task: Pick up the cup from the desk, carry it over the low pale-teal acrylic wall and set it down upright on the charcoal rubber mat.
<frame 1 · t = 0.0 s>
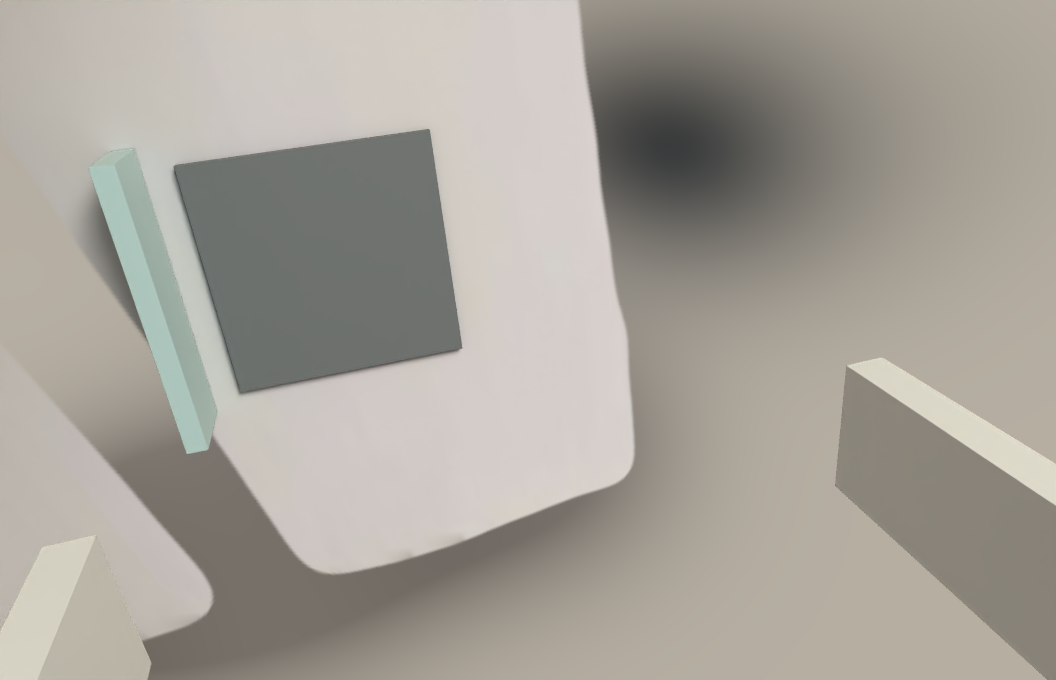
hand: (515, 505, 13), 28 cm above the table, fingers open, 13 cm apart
wall: (168, 291, 37), on the table
mat: (331, 263, 39), on the table
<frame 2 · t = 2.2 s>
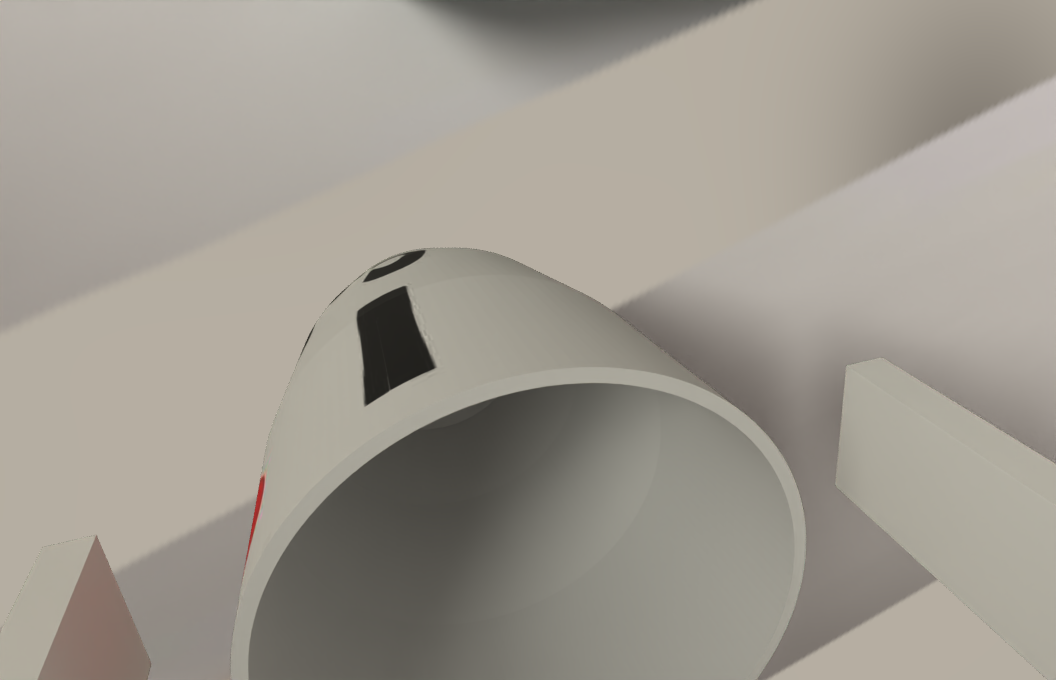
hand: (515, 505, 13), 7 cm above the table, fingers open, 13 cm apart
cup: (430, 341, 19), on the table
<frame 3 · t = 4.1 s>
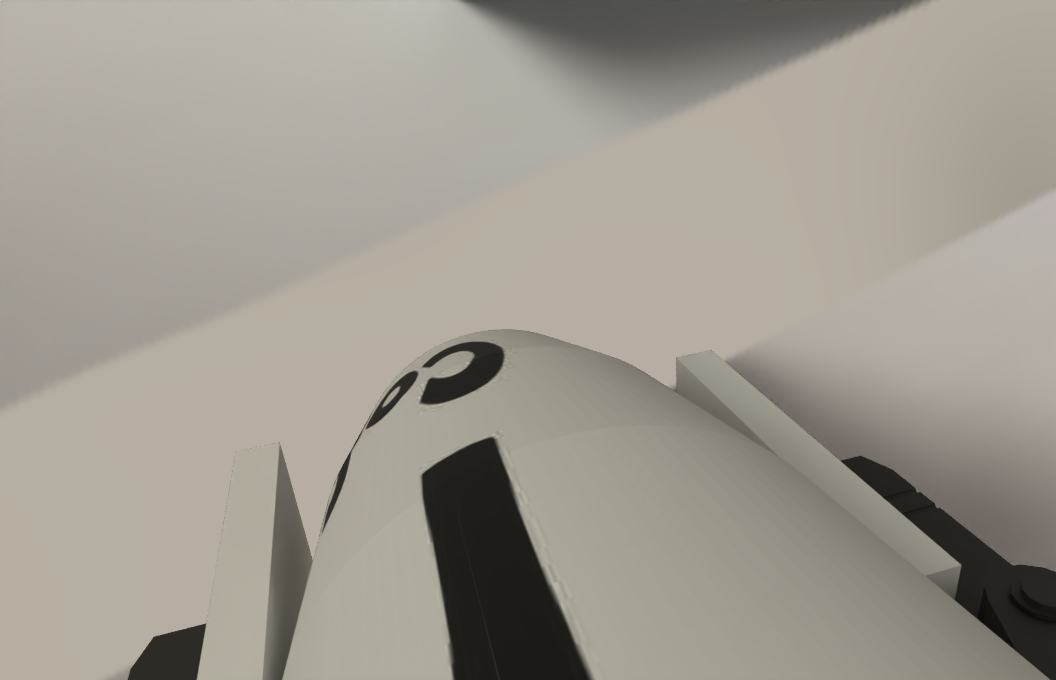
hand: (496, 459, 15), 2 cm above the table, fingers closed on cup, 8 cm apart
cup: (493, 442, 15), point 2 cm above the table, touching gripper
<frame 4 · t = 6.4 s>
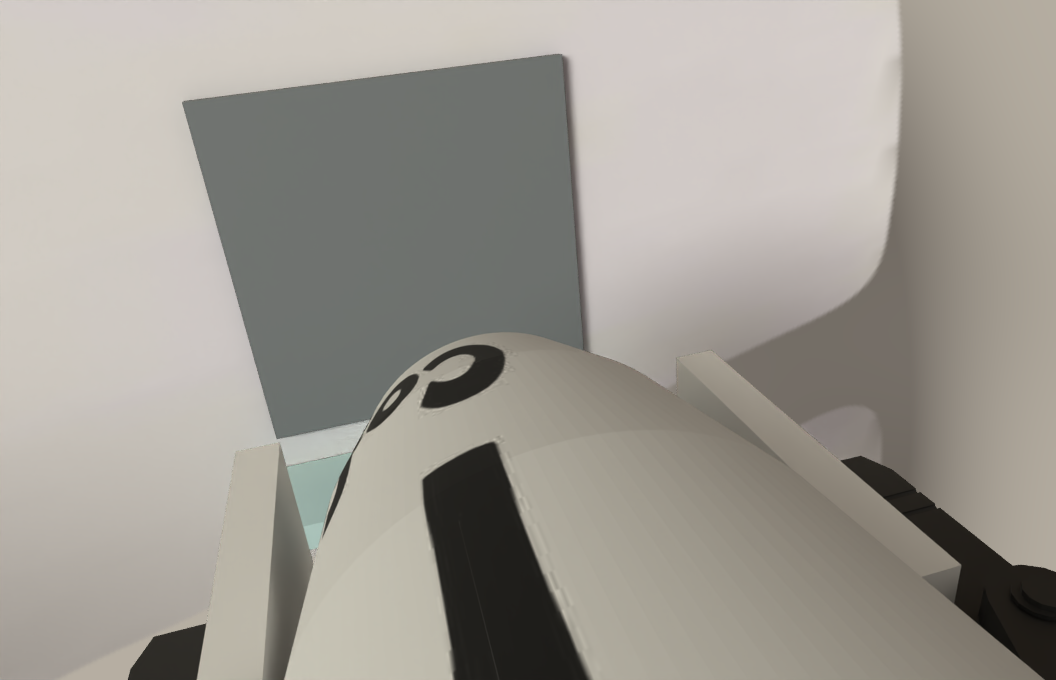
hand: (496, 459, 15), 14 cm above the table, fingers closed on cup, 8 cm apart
wall: (442, 443, 30), on the table
mat: (410, 253, 27), on the table
cup: (493, 445, 15), point 13 cm above the table, touching gripper
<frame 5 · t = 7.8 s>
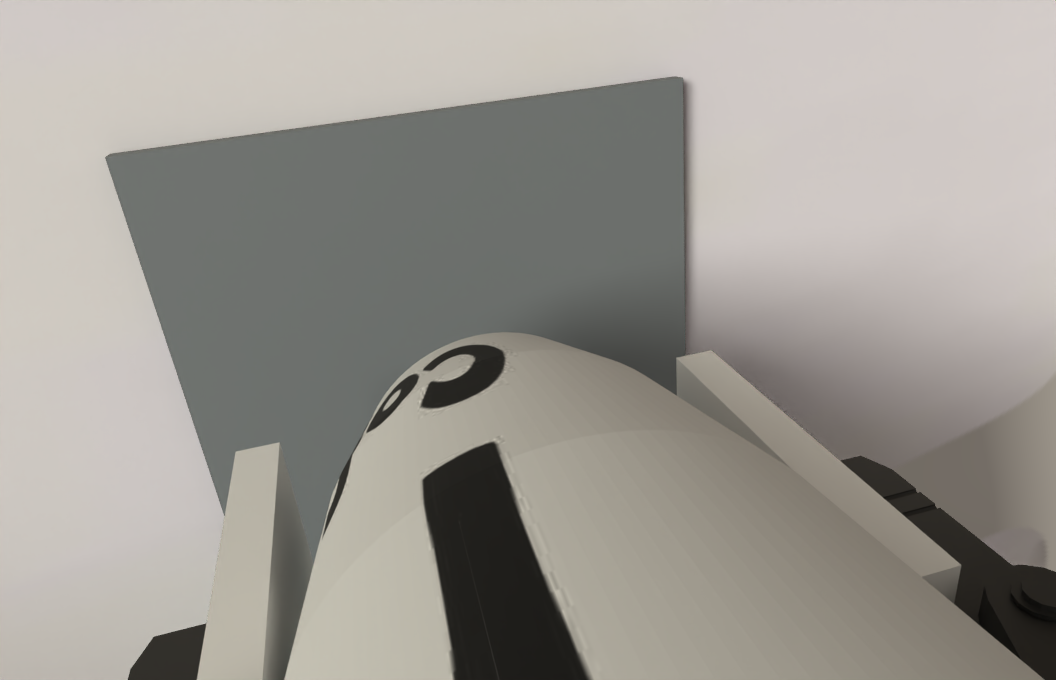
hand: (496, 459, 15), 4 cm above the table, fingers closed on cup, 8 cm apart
mat: (452, 363, 19), on the table
cup: (494, 445, 15), point 4 cm above the table, touching gripper
when the fingers open (2 cm above the table, at t = 8.9 s): cup stays where it is, resting on mat.
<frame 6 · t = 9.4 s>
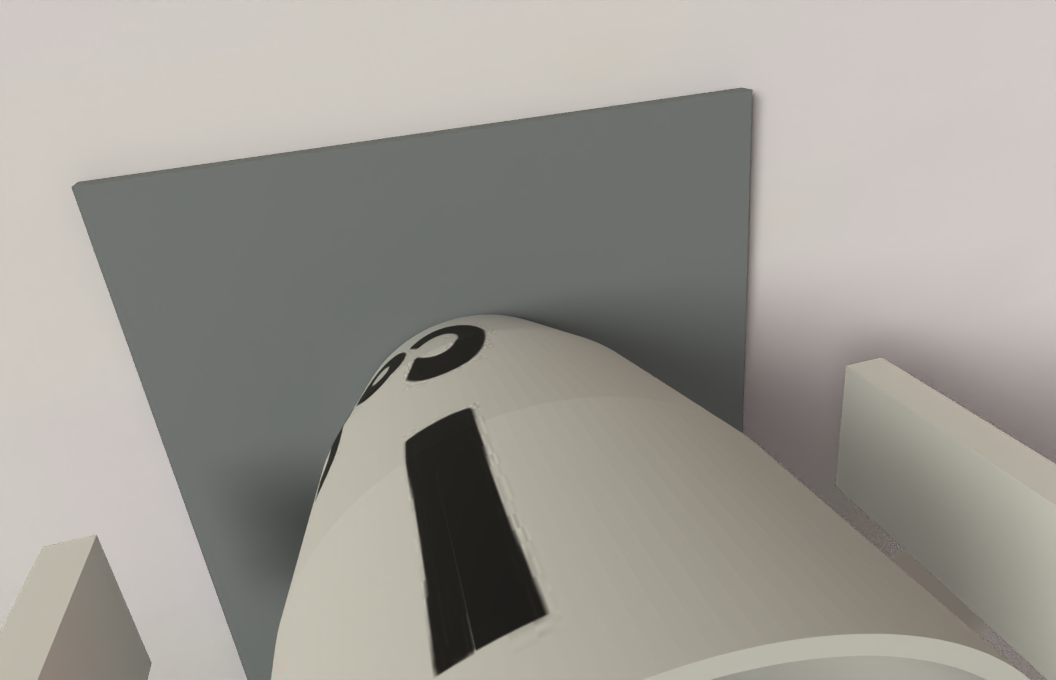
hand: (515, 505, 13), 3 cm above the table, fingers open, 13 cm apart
mat: (479, 417, 16), on the table
cup: (479, 422, 16), resting on mat
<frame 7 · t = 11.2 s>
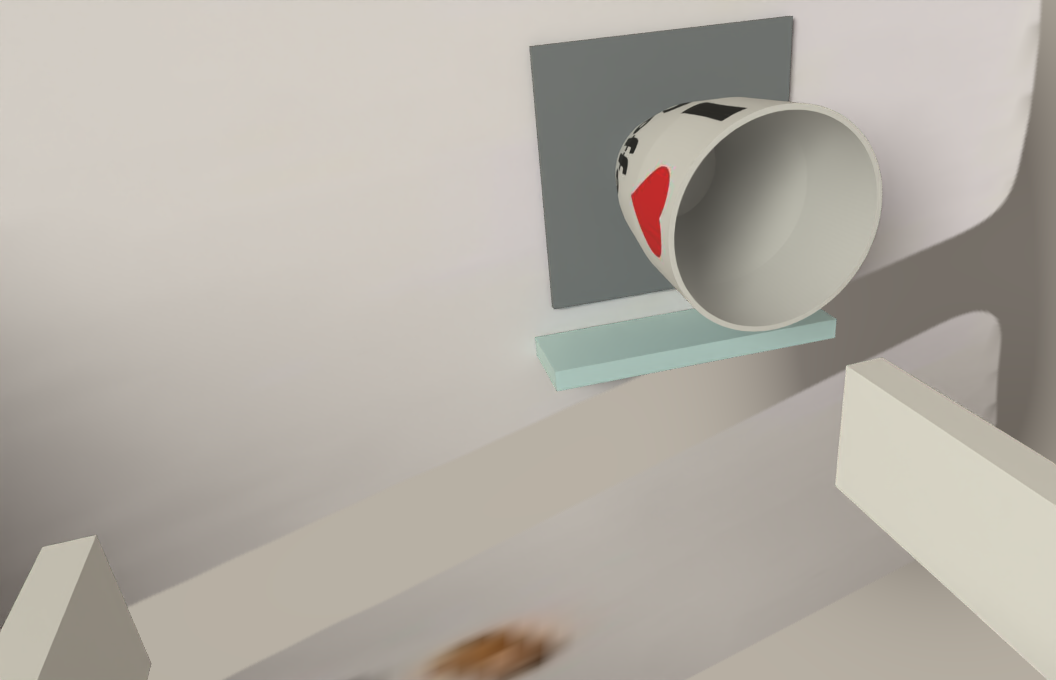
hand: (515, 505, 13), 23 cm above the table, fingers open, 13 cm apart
wall: (667, 322, 39), on the table
mat: (664, 167, 36), on the table
cup: (665, 168, 35), resting on mat
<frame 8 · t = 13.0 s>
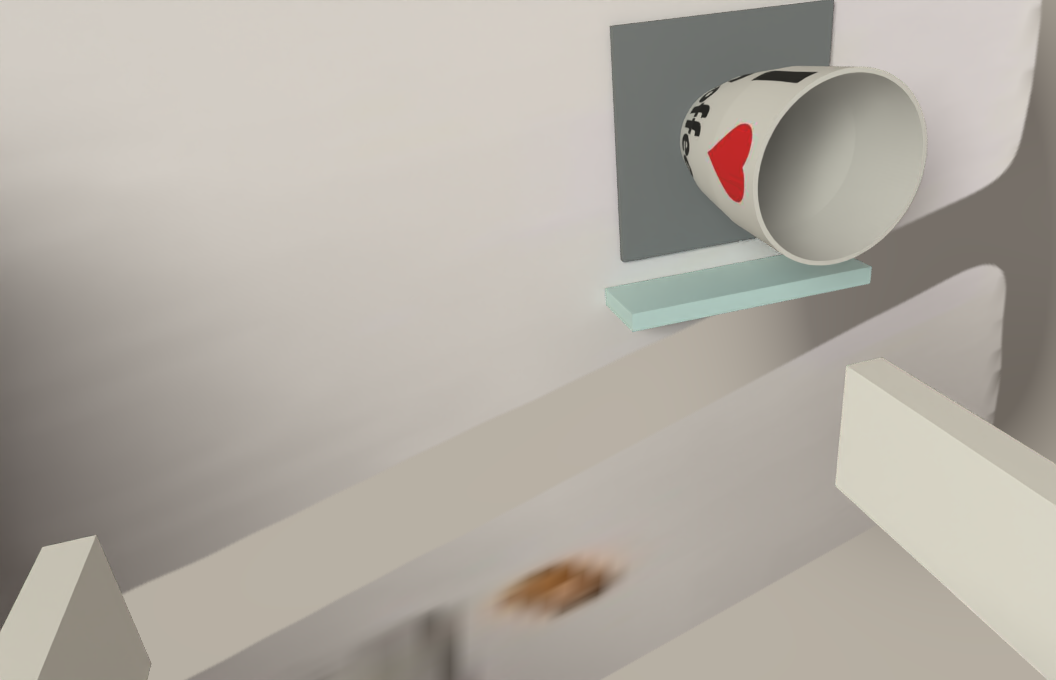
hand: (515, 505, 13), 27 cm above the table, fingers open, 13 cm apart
wall: (719, 274, 44), on the table
mat: (721, 134, 40), on the table
cup: (722, 134, 40), resting on mat
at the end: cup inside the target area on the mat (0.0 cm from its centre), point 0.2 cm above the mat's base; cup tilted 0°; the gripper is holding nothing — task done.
